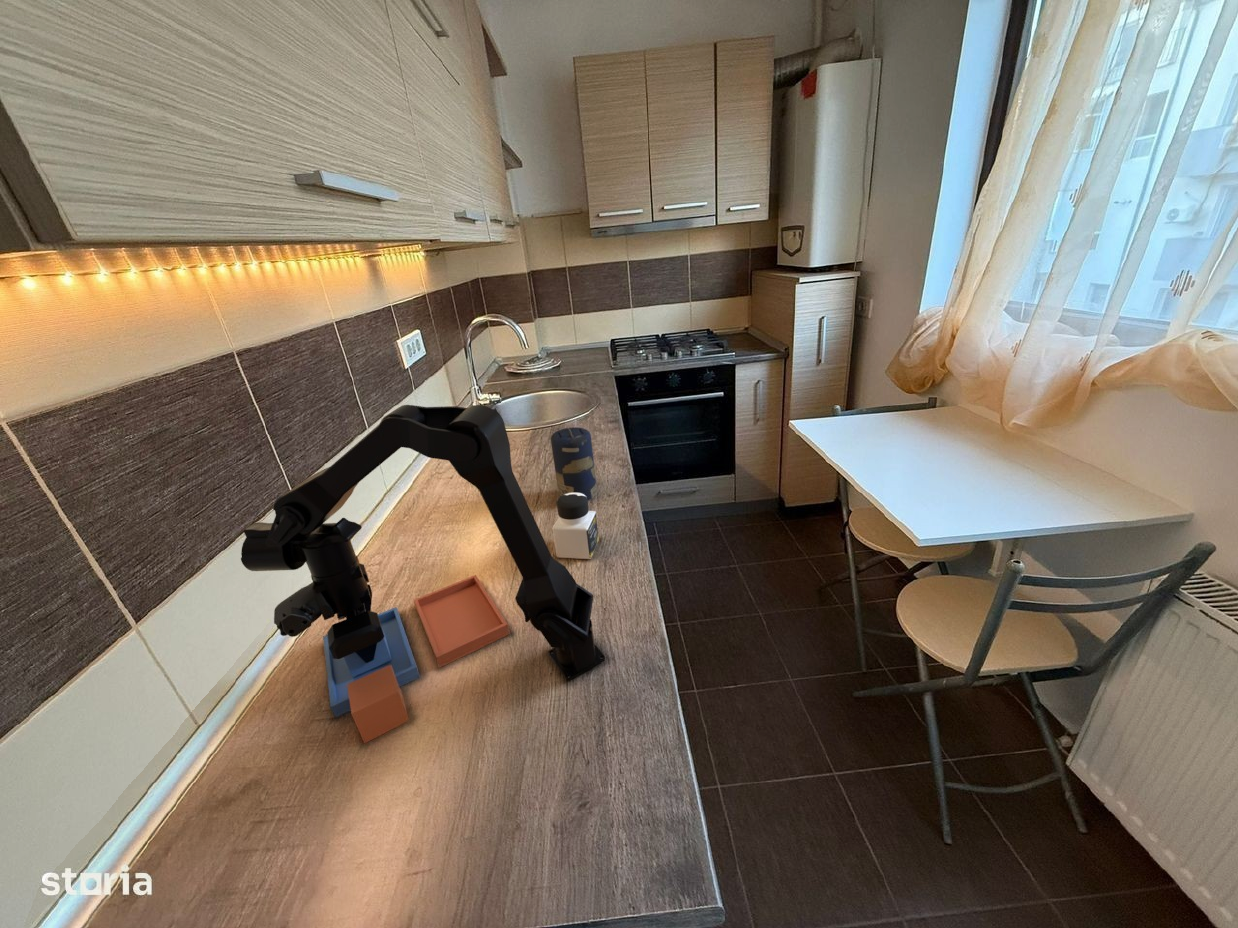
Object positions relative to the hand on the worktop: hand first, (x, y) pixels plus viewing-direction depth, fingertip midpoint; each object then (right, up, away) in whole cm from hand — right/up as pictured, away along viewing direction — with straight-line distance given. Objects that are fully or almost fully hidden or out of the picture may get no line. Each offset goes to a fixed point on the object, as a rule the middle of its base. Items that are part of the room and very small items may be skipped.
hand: (367, 648), depth 73 cm
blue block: (0, -2, +1) cm, 2 cm away
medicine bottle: (+30, +11, +25) cm, 40 cm away
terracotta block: (+7, -6, -8) cm, 12 cm away
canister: (+28, +20, +46) cm, 57 cm away
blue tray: (0, -2, +1) cm, 3 cm away
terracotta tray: (+12, +2, +8) cm, 14 cm away
